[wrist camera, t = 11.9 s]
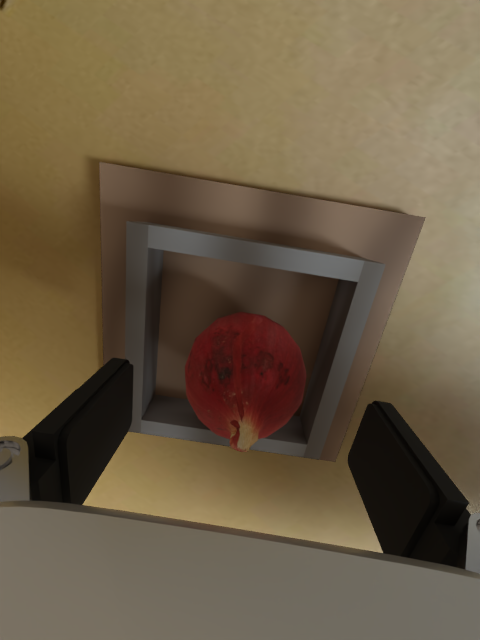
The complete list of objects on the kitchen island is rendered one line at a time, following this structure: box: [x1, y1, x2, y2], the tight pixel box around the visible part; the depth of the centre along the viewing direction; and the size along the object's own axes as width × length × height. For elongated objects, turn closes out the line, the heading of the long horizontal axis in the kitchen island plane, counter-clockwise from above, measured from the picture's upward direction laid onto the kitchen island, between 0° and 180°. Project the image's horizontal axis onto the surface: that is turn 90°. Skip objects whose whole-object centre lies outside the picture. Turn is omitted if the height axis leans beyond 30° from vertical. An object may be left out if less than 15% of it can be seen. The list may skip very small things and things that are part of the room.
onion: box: [185, 312, 307, 452], centre depth 13 cm, size 6×6×8 cm
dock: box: [99, 162, 425, 462], centre depth 16 cm, size 17×17×4 cm
